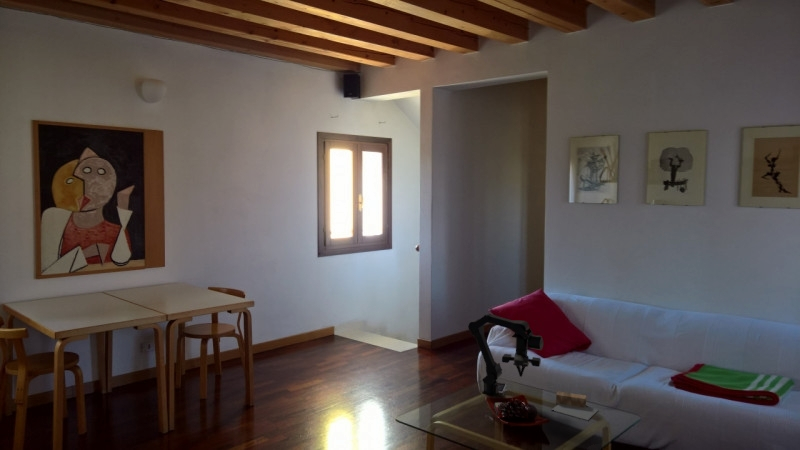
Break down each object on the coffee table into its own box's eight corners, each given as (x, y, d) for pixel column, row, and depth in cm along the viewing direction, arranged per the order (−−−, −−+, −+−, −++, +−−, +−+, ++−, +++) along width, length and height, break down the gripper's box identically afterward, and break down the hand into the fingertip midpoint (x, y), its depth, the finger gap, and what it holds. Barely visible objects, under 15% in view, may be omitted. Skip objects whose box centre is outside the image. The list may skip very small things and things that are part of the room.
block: (556, 394, 294) (585, 398, 289) (557, 391, 299) (586, 395, 293) (556, 403, 295) (585, 407, 290) (557, 399, 299) (586, 404, 294)
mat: (551, 410, 288) (551, 409, 287) (562, 401, 298) (562, 400, 298) (587, 420, 277) (587, 419, 277) (598, 410, 288) (598, 409, 288)
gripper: (500, 349, 293) (499, 379, 295) (538, 353, 287) (537, 384, 289) (504, 342, 304) (503, 372, 306) (541, 346, 297) (540, 376, 299)
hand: (520, 376), depth 299 cm, fingers closed
